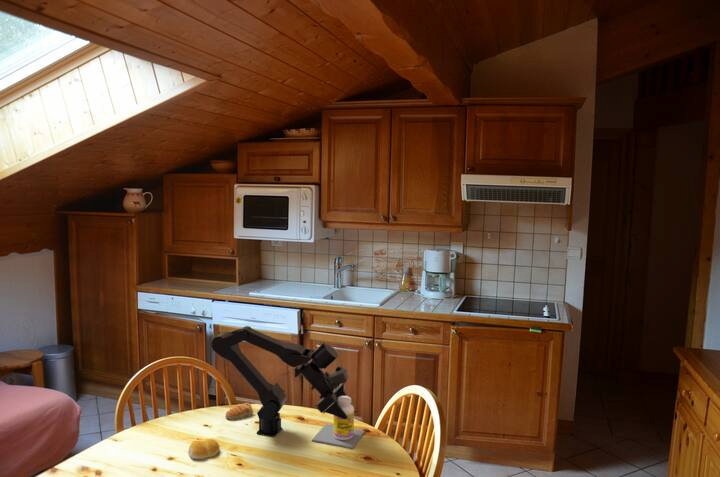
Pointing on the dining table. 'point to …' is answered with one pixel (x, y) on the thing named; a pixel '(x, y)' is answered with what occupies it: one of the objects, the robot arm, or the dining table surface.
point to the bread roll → (203, 449)
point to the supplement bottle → (344, 420)
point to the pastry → (239, 411)
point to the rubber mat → (328, 438)
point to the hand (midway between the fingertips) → (348, 412)
